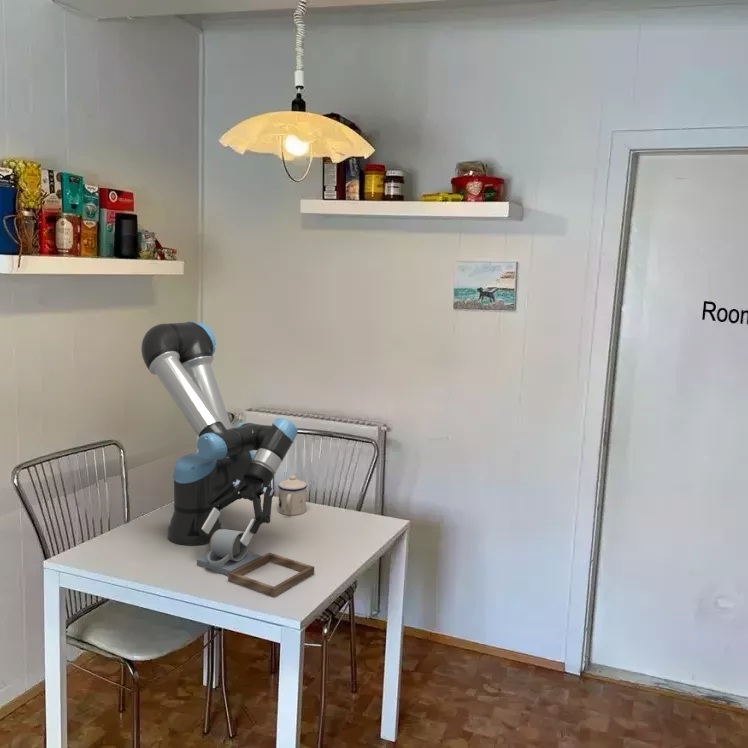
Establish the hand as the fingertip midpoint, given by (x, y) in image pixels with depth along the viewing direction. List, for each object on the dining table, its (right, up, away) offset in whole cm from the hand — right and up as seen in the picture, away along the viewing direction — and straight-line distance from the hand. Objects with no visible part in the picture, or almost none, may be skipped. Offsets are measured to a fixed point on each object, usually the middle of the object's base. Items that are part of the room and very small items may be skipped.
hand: (223, 537), depth 190 cm
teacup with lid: (+13, -2, +43) cm, 45 cm away
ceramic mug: (0, -6, +2) cm, 7 cm away
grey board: (+1, -8, +3) cm, 8 cm away
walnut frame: (+13, -9, -4) cm, 17 cm away
